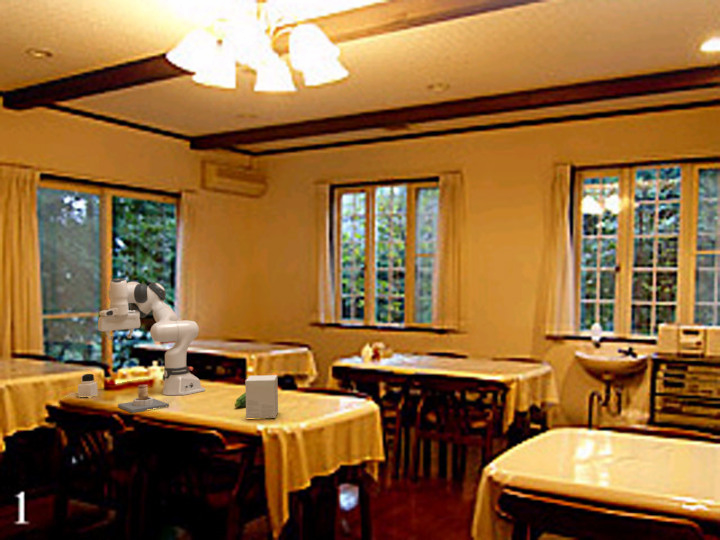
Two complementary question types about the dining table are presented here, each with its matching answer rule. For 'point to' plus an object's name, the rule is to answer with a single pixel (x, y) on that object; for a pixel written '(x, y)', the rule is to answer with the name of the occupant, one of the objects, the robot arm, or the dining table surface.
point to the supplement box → (261, 396)
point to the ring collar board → (140, 408)
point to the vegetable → (241, 401)
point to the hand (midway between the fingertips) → (119, 338)
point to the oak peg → (143, 392)
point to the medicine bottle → (87, 386)
